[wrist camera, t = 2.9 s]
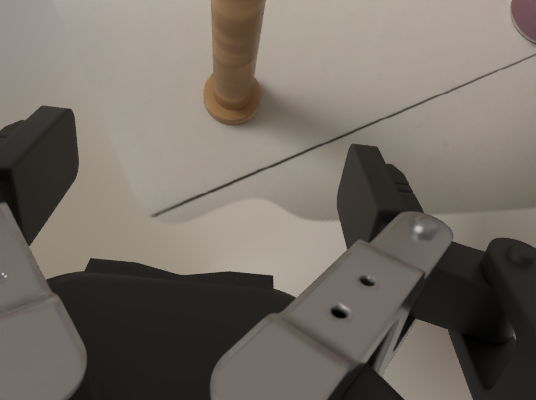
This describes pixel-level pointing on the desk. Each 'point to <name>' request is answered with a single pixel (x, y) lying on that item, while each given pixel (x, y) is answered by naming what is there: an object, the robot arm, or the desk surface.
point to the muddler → (234, 60)
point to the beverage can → (525, 18)
